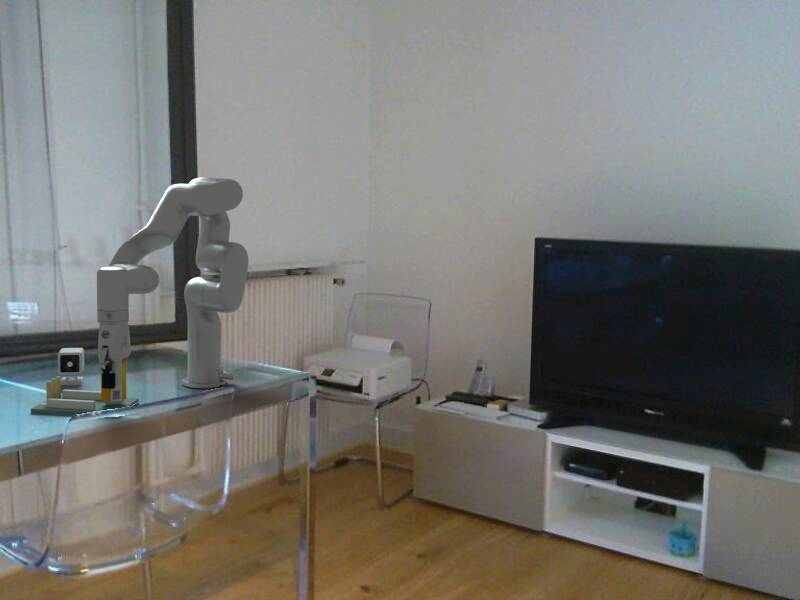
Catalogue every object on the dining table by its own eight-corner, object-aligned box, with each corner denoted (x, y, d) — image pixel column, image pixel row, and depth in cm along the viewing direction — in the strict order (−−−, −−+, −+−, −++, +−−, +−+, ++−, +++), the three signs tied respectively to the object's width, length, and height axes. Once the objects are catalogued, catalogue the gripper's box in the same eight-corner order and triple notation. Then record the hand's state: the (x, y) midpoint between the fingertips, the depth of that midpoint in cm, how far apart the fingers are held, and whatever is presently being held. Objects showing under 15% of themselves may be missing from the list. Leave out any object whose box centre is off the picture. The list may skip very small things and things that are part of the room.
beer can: (121, 397, 206) (120, 341, 204) (130, 402, 202) (129, 345, 199) (97, 400, 202) (96, 343, 200) (106, 406, 198) (105, 348, 196)
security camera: (58, 387, 220) (57, 352, 219) (61, 381, 227) (60, 347, 226) (82, 386, 222) (81, 352, 221) (84, 380, 229) (84, 347, 227)
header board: (138, 402, 209) (138, 376, 208) (117, 418, 195) (117, 390, 194) (57, 398, 210) (56, 372, 209) (30, 413, 196) (30, 385, 195)
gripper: (114, 322, 190) (115, 394, 193) (140, 311, 207) (140, 377, 210) (83, 321, 190) (85, 393, 193) (112, 309, 207) (113, 376, 210)
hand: (114, 384), depth 201 cm, fingers closed on beer can, 6 cm apart
